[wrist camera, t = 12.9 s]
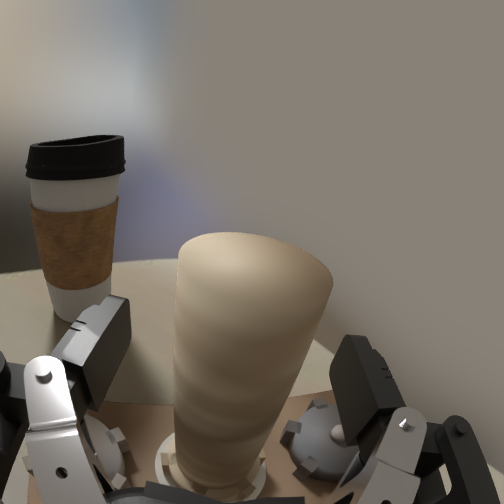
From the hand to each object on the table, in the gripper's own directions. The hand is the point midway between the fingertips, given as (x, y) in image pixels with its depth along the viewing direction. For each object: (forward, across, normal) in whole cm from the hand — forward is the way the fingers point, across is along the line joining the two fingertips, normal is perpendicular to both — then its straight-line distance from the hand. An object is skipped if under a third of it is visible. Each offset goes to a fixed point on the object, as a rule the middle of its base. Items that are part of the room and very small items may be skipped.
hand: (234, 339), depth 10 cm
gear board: (-2, 0, +9) cm, 10 cm away
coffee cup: (+11, +14, +10) cm, 20 cm away
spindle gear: (-2, 0, +8) cm, 8 cm away
